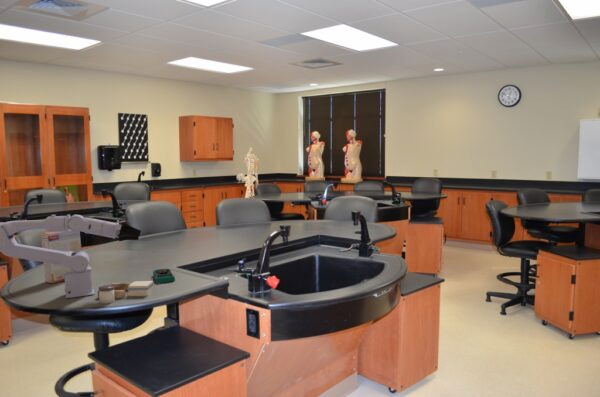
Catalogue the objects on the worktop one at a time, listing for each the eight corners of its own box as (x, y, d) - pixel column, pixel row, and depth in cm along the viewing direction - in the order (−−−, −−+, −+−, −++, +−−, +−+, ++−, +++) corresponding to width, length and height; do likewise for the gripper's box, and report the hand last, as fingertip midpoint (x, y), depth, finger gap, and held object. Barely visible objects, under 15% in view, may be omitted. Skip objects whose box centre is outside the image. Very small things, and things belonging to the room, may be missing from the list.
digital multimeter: (170, 274, 204) (170, 267, 204) (175, 282, 190) (174, 275, 190) (153, 276, 201) (152, 269, 201) (156, 284, 188) (156, 277, 187)
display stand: (98, 298, 170) (97, 291, 169) (111, 289, 181) (110, 283, 180) (124, 297, 169) (123, 291, 169) (135, 289, 180) (135, 282, 180)
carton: (128, 296, 171) (128, 286, 171) (135, 291, 178) (134, 281, 178) (147, 296, 171) (147, 285, 171) (153, 291, 178) (153, 280, 177)
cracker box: (75, 274, 205) (72, 227, 203) (83, 276, 202) (80, 228, 200) (44, 282, 194) (40, 232, 192) (52, 284, 190) (48, 233, 188)
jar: (99, 304, 162) (98, 289, 162) (99, 300, 167) (98, 286, 166) (115, 302, 164) (114, 287, 164) (114, 298, 169) (113, 284, 169)
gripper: (105, 213, 171) (143, 221, 175) (104, 222, 184) (140, 229, 188) (100, 232, 168) (139, 239, 173) (100, 239, 181) (136, 246, 186)
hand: (139, 235), depth 180 cm, fingers open, 7 cm apart
